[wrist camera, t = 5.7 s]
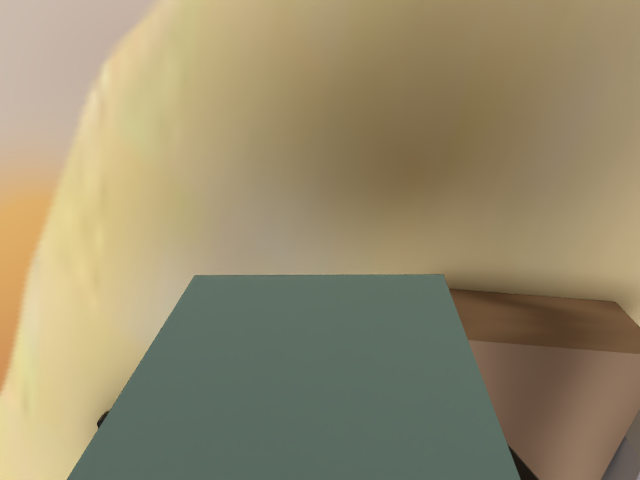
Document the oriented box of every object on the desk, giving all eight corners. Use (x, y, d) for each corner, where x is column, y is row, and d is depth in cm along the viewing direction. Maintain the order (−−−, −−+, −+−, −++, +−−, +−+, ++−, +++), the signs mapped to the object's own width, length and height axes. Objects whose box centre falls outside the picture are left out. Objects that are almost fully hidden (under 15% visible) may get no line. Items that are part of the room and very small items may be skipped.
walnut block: (394, 415, 24) (402, 482, 21) (419, 283, 20) (434, 337, 17) (553, 429, 24) (589, 499, 20) (611, 298, 20) (668, 356, 16)
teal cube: (228, 441, 11) (144, 727, 6) (194, 275, 9) (30, 536, 4) (425, 446, 11) (481, 754, 6) (442, 274, 8) (551, 560, 4)
